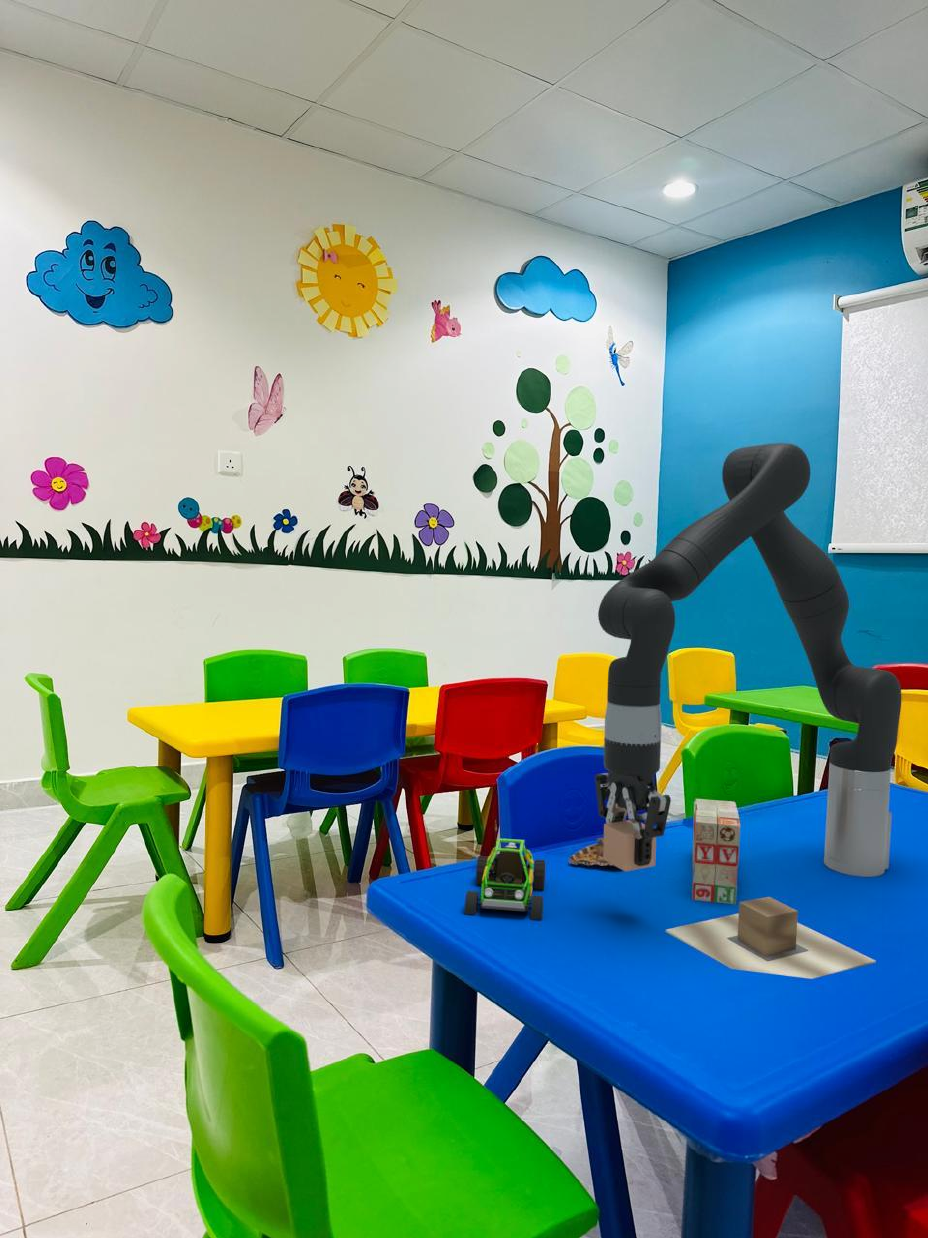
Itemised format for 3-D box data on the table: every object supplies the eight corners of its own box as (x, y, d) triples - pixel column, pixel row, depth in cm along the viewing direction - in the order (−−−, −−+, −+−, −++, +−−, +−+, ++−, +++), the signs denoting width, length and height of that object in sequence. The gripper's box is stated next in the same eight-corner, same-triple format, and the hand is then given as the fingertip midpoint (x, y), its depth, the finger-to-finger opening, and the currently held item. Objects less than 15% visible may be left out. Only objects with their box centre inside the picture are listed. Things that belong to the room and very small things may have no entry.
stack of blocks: (691, 854, 152) (694, 783, 151) (730, 858, 150) (733, 786, 149) (692, 903, 131) (695, 820, 130) (736, 908, 129) (740, 824, 128)
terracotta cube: (632, 854, 126) (633, 819, 126) (655, 865, 122) (656, 829, 121) (603, 859, 124) (604, 824, 123) (625, 871, 119) (626, 835, 119)
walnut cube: (767, 933, 118) (769, 896, 118) (795, 949, 113) (797, 911, 113) (737, 939, 116) (739, 902, 116) (765, 956, 111) (767, 917, 111)
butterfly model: (567, 862, 145) (567, 844, 145) (601, 843, 155) (601, 826, 155) (616, 874, 140) (616, 854, 140) (647, 854, 150) (648, 836, 150)
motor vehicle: (464, 923, 123) (465, 854, 122) (478, 876, 140) (480, 815, 139) (541, 929, 121) (543, 859, 121) (546, 880, 139) (548, 819, 138)
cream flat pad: (765, 914, 127) (766, 906, 127) (875, 968, 111) (875, 960, 111) (665, 937, 119) (665, 929, 119) (768, 999, 103) (768, 990, 103)
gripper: (690, 743, 116) (685, 871, 118) (622, 723, 129) (619, 838, 131) (643, 749, 113) (640, 880, 115) (579, 727, 126) (576, 845, 127)
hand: (629, 857), depth 123 cm, fingers closed on terracotta cube, 5 cm apart
